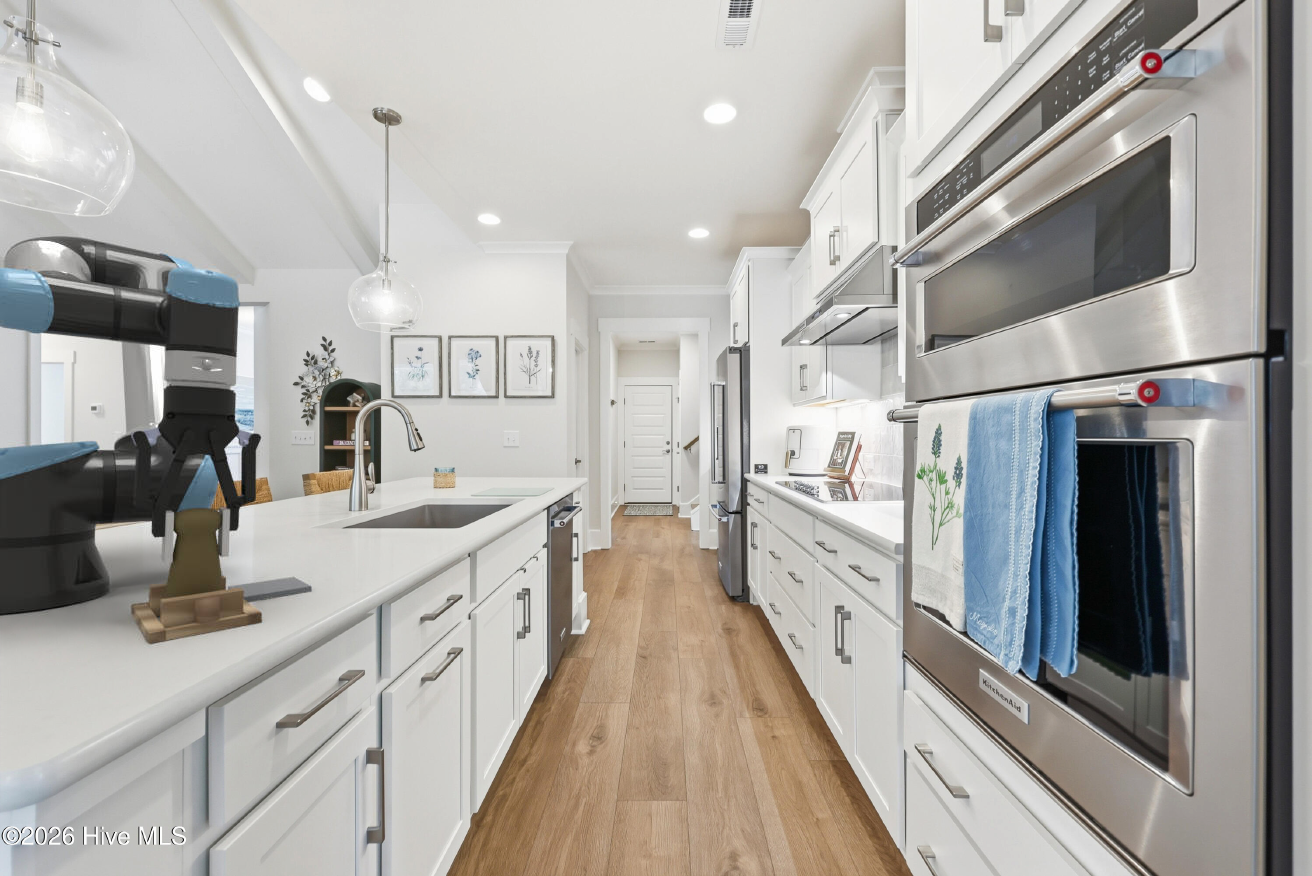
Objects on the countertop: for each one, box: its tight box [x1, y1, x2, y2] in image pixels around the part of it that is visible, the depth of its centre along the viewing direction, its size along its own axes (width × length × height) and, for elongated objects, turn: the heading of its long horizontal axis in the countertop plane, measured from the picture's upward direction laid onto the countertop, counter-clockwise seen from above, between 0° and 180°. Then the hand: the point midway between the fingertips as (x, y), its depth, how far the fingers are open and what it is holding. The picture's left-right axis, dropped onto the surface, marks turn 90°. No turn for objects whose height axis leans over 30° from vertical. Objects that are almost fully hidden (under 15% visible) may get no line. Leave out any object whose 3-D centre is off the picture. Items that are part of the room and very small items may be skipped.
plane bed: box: [130, 575, 263, 644], centre depth 74 cm, size 17×11×6 cm, turn 49°
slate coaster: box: [227, 576, 312, 603], centre depth 87 cm, size 9×9×1 cm
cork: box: [165, 508, 223, 596], centre depth 74 cm, size 6×6×11 cm
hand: (195, 557), depth 74 cm, fingers closed on cork, 5 cm apart
